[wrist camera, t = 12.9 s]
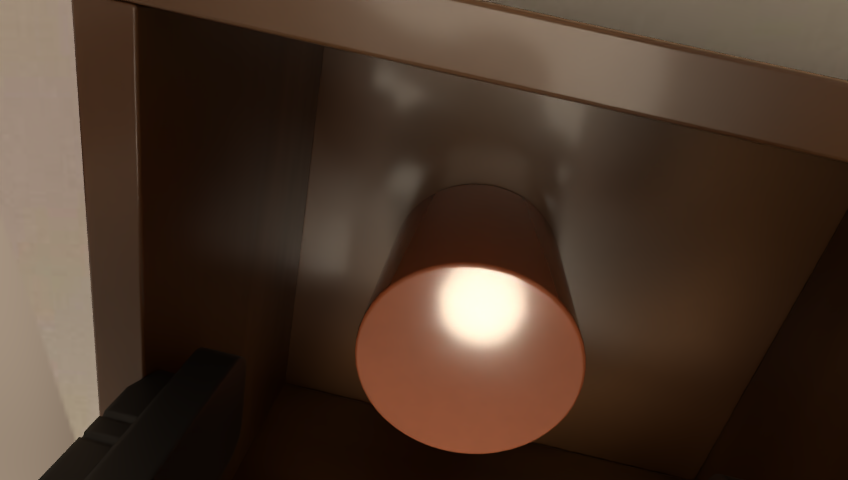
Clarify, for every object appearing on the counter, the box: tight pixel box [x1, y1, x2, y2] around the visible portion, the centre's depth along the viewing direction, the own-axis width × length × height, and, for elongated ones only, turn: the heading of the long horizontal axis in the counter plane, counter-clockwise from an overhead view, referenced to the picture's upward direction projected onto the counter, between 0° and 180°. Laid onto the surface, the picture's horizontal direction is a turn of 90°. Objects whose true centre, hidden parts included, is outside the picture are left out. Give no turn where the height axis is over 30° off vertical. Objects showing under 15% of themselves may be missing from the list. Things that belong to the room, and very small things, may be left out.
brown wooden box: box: [72, 0, 848, 480], centre depth 12 cm, size 16×14×9 cm
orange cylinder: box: [355, 184, 586, 454], centre depth 14 cm, size 5×5×5 cm
